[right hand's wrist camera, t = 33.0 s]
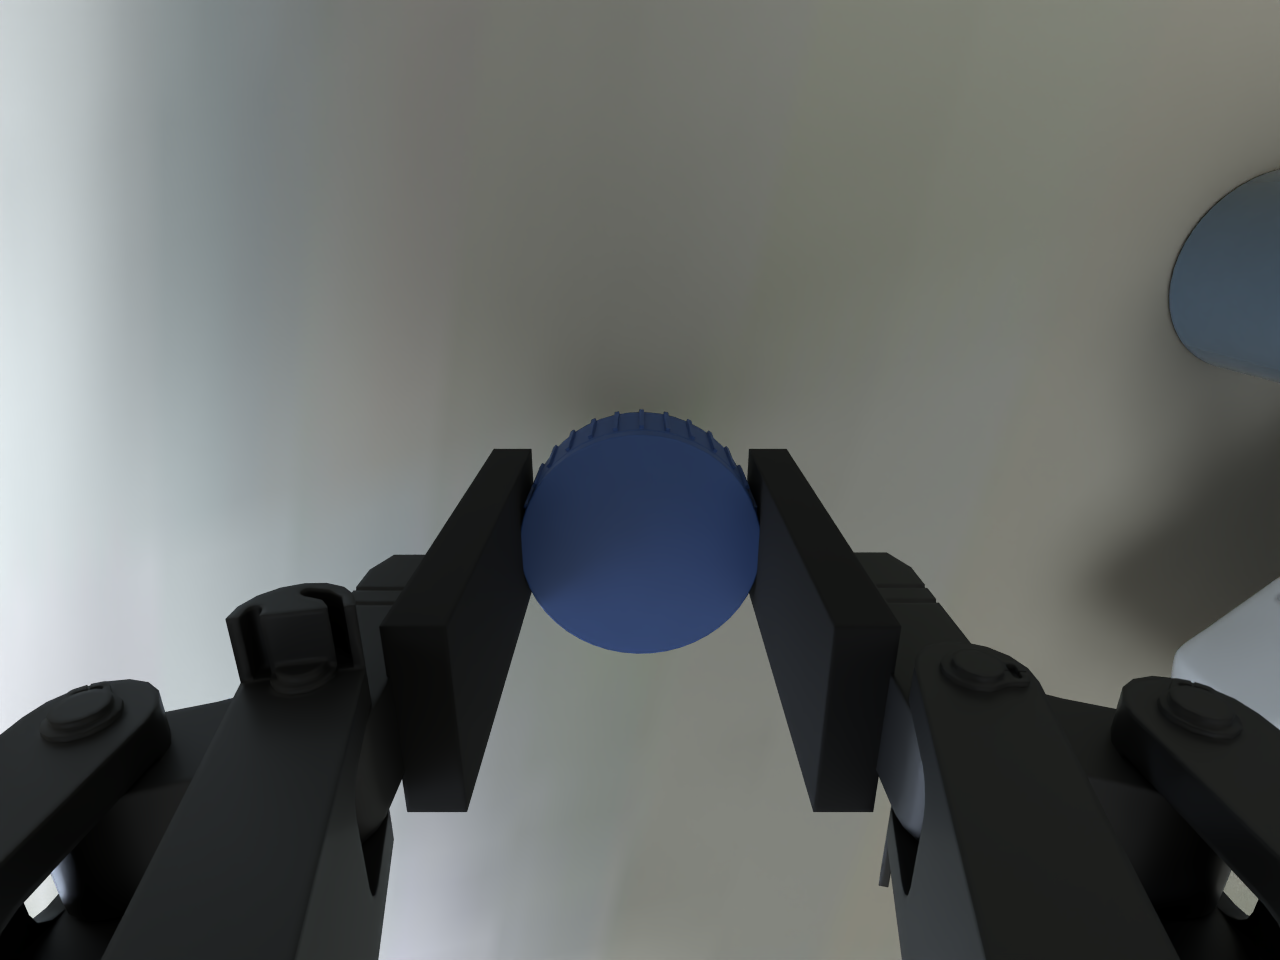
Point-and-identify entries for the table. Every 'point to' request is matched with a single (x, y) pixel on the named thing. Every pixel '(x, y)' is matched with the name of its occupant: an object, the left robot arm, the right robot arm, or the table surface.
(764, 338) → the table surface
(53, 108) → the table surface
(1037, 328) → the table surface
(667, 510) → the cap
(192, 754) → the right robot arm
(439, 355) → the table surface
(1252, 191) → the bottle
